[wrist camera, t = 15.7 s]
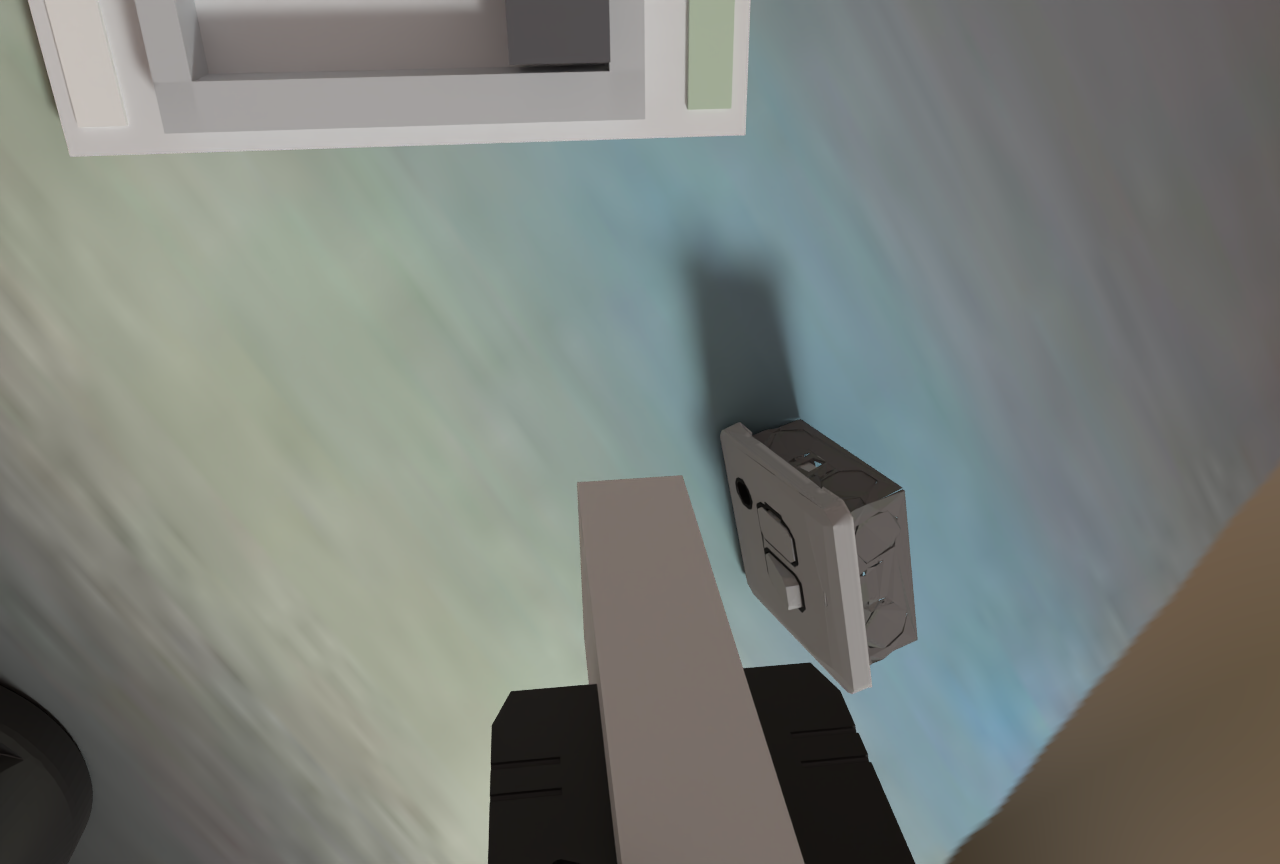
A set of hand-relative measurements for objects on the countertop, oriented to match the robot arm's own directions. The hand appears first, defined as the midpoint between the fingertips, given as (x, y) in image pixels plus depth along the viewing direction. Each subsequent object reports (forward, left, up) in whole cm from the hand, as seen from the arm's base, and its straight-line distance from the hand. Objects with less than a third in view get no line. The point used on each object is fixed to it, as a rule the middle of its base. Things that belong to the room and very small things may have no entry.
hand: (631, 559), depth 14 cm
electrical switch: (+10, -15, -27) cm, 32 cm away
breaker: (0, +6, -25) cm, 26 cm away
